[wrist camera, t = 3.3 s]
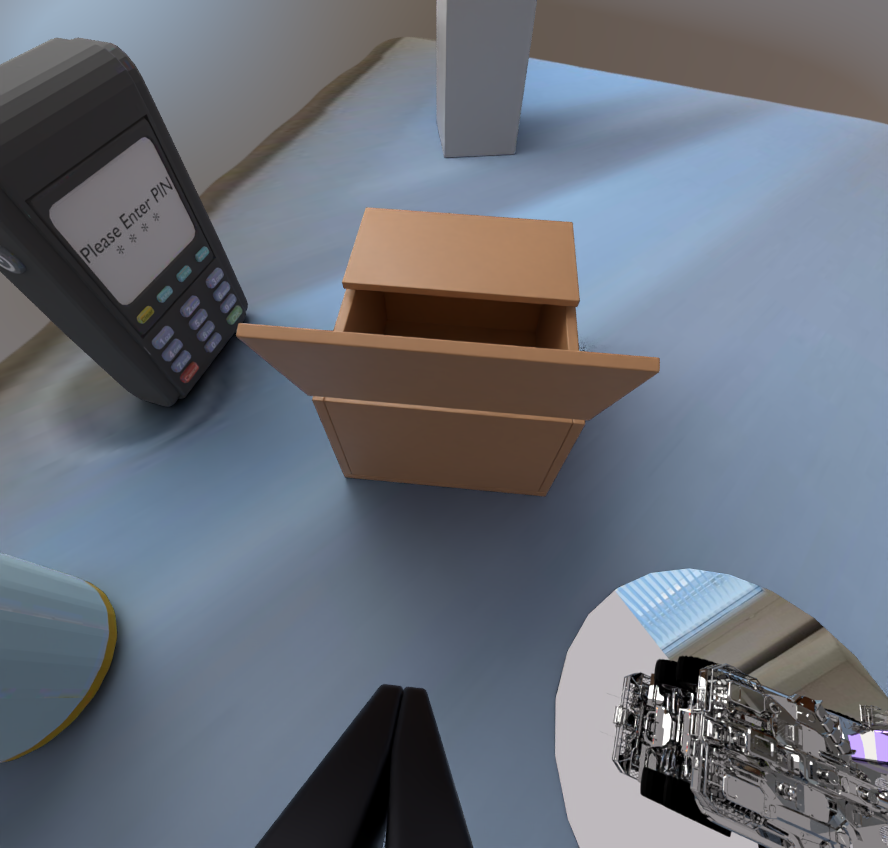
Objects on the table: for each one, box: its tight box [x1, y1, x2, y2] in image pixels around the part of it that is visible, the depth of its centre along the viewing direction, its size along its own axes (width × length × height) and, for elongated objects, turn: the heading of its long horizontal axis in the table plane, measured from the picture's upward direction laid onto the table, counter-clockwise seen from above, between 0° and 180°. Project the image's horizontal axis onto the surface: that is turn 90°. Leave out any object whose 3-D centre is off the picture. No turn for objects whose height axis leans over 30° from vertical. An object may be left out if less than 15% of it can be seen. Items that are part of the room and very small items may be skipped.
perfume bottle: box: [437, 0, 537, 158], centre depth 36 cm, size 7×7×18 cm
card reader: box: [0, 38, 248, 407], centre depth 22 cm, size 9×4×15 cm, turn 163°
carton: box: [312, 208, 585, 496], centre depth 24 cm, size 12×11×8 cm
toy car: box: [555, 568, 888, 848], centre depth 16 cm, size 15×15×5 cm
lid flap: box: [236, 323, 660, 420], centre depth 14 cm, size 6×11×1 cm
